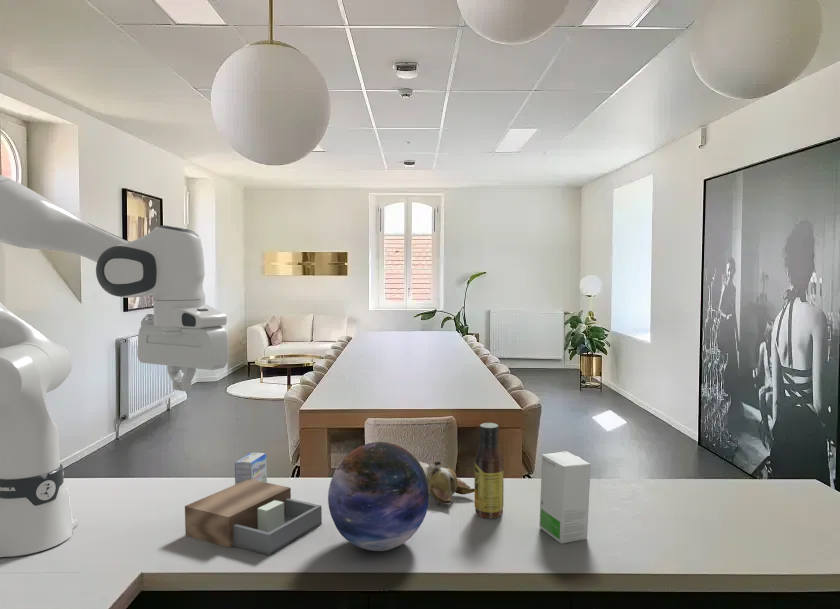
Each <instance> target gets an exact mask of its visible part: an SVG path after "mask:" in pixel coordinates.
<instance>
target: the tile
mask: <svg viewBox="0 0 840 609" xmlns="http://www.w3.org/2000/svg"><path fill="white" fill-rule="evenodd" d="M257 510H258V530H261V531H265V532H270V531H272V530H274V529H276V528H278V527H279V526H281V525H283V524H284V502H280V501H276V500H274V501H272V502H270V503H268V504H266V505H264V506H261V507H259V508H257Z"/></svg>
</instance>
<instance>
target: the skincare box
mask: <svg viewBox="0 0 840 609" xmlns="http://www.w3.org/2000/svg"><path fill="white" fill-rule="evenodd" d="M590 481H591V463H590V462H587V461H586V460H584V459H582V458H581V457H580V456H578V455H574V454H573V453H571V452H570V451H565V450H564V451H559V452H552V453H551V452H550V453H544V454H543V453H542V454H541V478H540V501H539V503H540V504H539V528H540V529H541V530H542V531H543V532H545V533H547V534H548V535H549V536H550V537H551V538H552V539H555V541H556V542H558V543H559V544H560V545H561V544H569V543H573V542H578V541H584V540H587V539H588V530H589V528H588V526H589V525H588V524H589V505H590V486H591V485H590V484H591V482H590Z"/></svg>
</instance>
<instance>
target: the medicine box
mask: <svg viewBox="0 0 840 609" xmlns="http://www.w3.org/2000/svg"><path fill="white" fill-rule="evenodd" d="M267 475H268V473H267V454H266V453H264V452H250V453H248V454H246V455H245V456H243V457H241V458H240V459H238V460H237V461H235V462H234V485H236V484H238V483H240V482H243V481H245V480H248V479H252V480H256V481H261V482H266V483H268V482H267V481H268V478H267V477H268V476H267Z"/></svg>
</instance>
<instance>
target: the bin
mask: <svg viewBox="0 0 840 609" xmlns="http://www.w3.org/2000/svg"><path fill="white" fill-rule="evenodd" d="M322 509H323V508H322V505H320V504H316V503H311V502H307V501H302V500H298V499H293V498H291V499H289V498H287V499H285V516H284V524H283V525H281V526H279V527H278V528H276V529H274V530H272V531H270V532H265V531H261V530H257V529H253V528H250V527H246V526H242V525H238V524H235V525H233V543H234V546H233V547H237V548H240V549H244V550H248V551H251V552H255V553H257V554H262V555H265V556H269V557H270V556H272V555H273V554H274V553H278V552H279V551H280V550H281V549H283V548H285V547H287V546H288V545H290V544H291V543H293V542H295V541H296V540H298V539H300V538H302V537H303V536H305V535H307V534H308V533H311V531H313V530H315V529H316V528H318V527H320V526H321V525H322V524H323V523H322V519H323V518H322V517H323V516H322V515H323V514H322Z"/></svg>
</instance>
